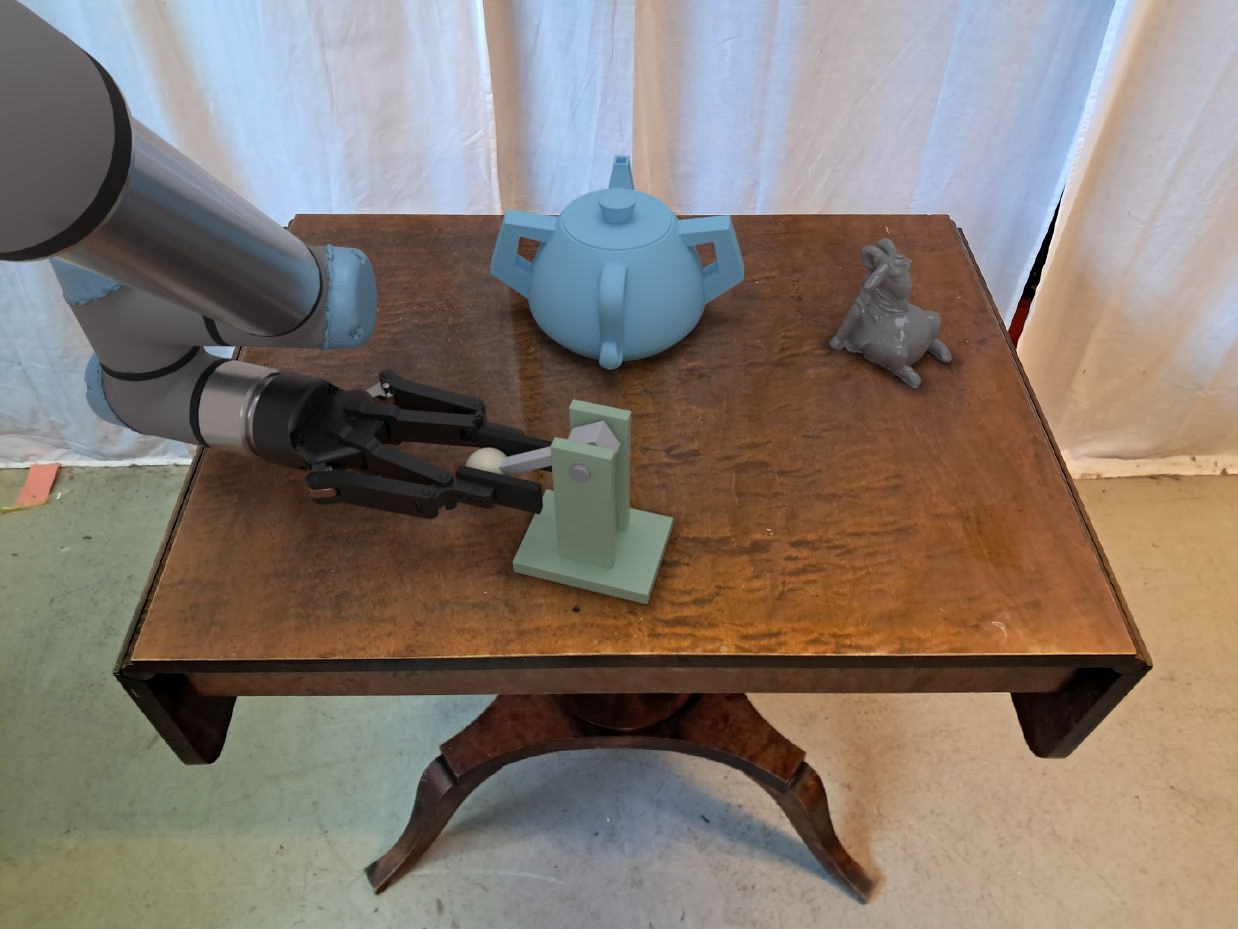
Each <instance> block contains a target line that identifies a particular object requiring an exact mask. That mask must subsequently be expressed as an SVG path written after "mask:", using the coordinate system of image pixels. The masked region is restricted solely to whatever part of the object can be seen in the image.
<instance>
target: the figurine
mask: <svg viewBox="0 0 1238 929" xmlns="http://www.w3.org/2000/svg"><path fill="white" fill-rule="evenodd" d="M860 261H861V265H863V266H864V267H865V268H866V269H867V270H868V271H867V273H866V275H865V276H864V278H863V279H862V282H861V288H860V290H859V293H858V295H857V296H856V298H855V299H854V301H853V302H852V304H851V307H850V308H849V310H848V312H847V314H846V317H845V318H844V320H843V322H842V324H841V325H840V326H839V328H838V330H837V331H836V333H835V335H834V336H833V337H832V338H831V339H830V341H829V343H828V346H829V347H830V348H831V349H832V350H833V349H834V350H837V351H838V350H843V349H844V348H845V349H846V350H847V351H848V352H852V353H853V354H856V353H858V354H863V358H865V359H866V360H868V361H869V362H871V363H873V364H875V365H878V366H880V367H882V368H885V369H886V370H888V371H890V372H891V374H893V375H895V376H897V377H899V379H901V380H902V382H904V383H906V384H907V385H908V386H910V387H912V388H913V389H918V388H919V387H920V385H921V384H922V379H921V376H920V375H919V374H918V373H917V372H916V371H915V370H914V368H913V367H912V366H913V365H914V364H915V363H916V362H918V361H919V360H920V359H921V358H922V357H923V356H924V355H925V353H926V352H929V353H930V354H932V355H933V356H934V357H936V358H937V359H938V360H940V361H942V362H943V363H947V364H948V363H950V362H951V361H952V360H953V356H952V353H951V351H950V349H949V348H948V347H947V346H946V344H945V343H944V342H943V341H941V340H940V339H939V336H940V335H941V331H942V325H943V324H942V318H941V315H940V314H939V313H938V312H936V311H933V310H928V309H927V310H925V309H924V310H923V309H922V308H920V306H917V305H915V304H913V303H910V301H909V300H908V299H909V298H910V297H911V296H912V294H913V287H914V285H913V280H912V278H911V268H912V266H911V265H912V262H913V260H912V259H910V258H909V257H906V254H899V253H898V250H897V248H896V245H895V242H893V241H892V240H891V239H889V238H887V237H886V238H881V239H880V240H878V242H877V244H876V246H875V245H871V244H869V245H865V246H864V247H862V249H861V251H860Z"/></svg>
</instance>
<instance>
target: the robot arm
mask: <svg viewBox="0 0 1238 929" xmlns="http://www.w3.org/2000/svg"><path fill="white" fill-rule="evenodd" d="M44 260H48V262H49V263H50V266H51V268H52V270H53V272H54V274H55V277H56V280H57V281H58V283H59V286H60V288H61V291H62V298H63V299H64V302H66V304H67V305H68V306H69V307H70V309H71V311H72V313H73V315H74V317H75V319H76V320H77V322H78V324H79V326H80V328H81V330H82V332H83V333H84V335H85V337H86V339H87V340H88V342H89V344H90V347H91V348H92V350H93V353H92V355H91V356H90V357H89V360H88V362H87V365H86V368H85V372H84V378H83V380H84V383H85V384H86V389H87V391H86V392H85V399H86V401H87V404H88V406H89V407H90V409H91V410H92V412H93V413H94V414H95V415H96V416H97V417H98V418H100V419H101V420H102V421H104V422H107V423H109V424H112V425H115V426H118V427H121V428H125V429H129V430H131V432H133V433H138V434H139V435H143V436H151V437H152V436H154V437H157V438H163V439H167V440H171V441H174V442H175V441H176V442H180V443H185V444H189V445H194V446H197V447H202V448H207V449H213V450H217V451H220V452H223V453H226V454H227V453H228V454H231V455H232V454H233V455H236V456H239V457H240V456H241V457H245V458H249V459H252V460H257V461H258V460H259V461H260V460H263V461H265V462H267V463H268V464H272V465H276V466H280V467H284V468H285V467H286V468H289V469H294V470H298V471H303V472H305V471H309V472H308V473H307V474H306V475H305V477H304V481H305V484H306V486H307V489H308V492H309V495H310V497H311V500H312V503H313V504H314V505H320V506H321V505H332V504H334V505H335V504H347V505H352V506H358V507H363V508H368V509H372V510H379V511H383V512H389V513H394V514H398V515H399V514H400V515H405V516H408V517H409V516H411V517H414V518H421V519H426V520H433V519H435V518H437V517H438V515H439V511H440V509H441V508H443V507H444V510H447V511H452V510H454V509H456V508H457V506H458V503H460V504H464V505H468V506H473V507H478V508H481V509H485V510H486V509H493V508H494V506H495V505H497V506H502V507H506V508H511V509H515V510H519V511H522V512H528V513H532V514H534V515H535V514H540V513H541V511H542V509H543V498H542V497H543V488H542V483H541V482H537V481H532V480H528V479H524V478H519V477H515V476H512V475H511V476H506V475H502V474H498V473H493V472H489V471H484V470H480V469H476V468H471V467H467V466H466V465H463V464H458V467H456V470H455V471H454V472H455V476H453V474H452V472H451V471H449V470H447V469H444V468H442V467H440V466H437V465H435V464H432V463H430V462H427V461H425V460H422V459H420V458H417V457H415V456H413V455H410V454H407V453H405V452H402V451H400V450H397V449H395V448H393V447H390V446H400V445H401V444H402V443H403V442H404V443H417V444H428V445H429V444H432V445H440V446H441V445H443V446H453V447H454V446H455V447H467V448H479V449H482V448H495V449H498V450H500V451H501V452H503V453H504V454H505V455H506V456H507V457H509V456H513V455H518V454H522V453H526V452H530V451H534V450H538V449H542V448H546V447H550V446H551V444H552V442H553V440H548V439H544V438H538V437H533V436H529V435H525V431H523V430H522V429H520V428H518V427H517V428H516V427H512V426H507V425H502V424H498V423H494V422H490V421H488V416H487V410H486V409H487V408H486V403H485V401H484V400H483V399H481V398H477V397H473V396H470V395H466V394H461V393H458V392H454V391H449V390H447V389H442V388H438V387H435V386H431V385H426V384H422V383H419V382H414V381H412V380H408V379H404V378H403V377H401V376H400V375H398V374H397V373H395V372H394V371H393V370H390V369H384V370H383V369H382V370H381V371H379V373H378V374H377V376H378V380H379V381H378V382H377V383H376V384H374V385H372V386H371V387H369V388H368V389H366V390H365V389H362V388H353V389H342V388H340V387H338V386H336V385H334V384H333V383H332V382H330V381H329V380H327V379H325V378H321V377H317V376H312V375H307V374H303V373H299V372H293V371H284V370H283V369H281V368H274V367H270V366H266V365H262V364H261V365H260V364H255V363H250V362H246V361H241V360H238V359H233V358H228V357H222V356H218V355H214V354H211V353H209V352H208V351H207V350H206V349H205V347H221V348H222V347H227V348H228V347H230V348H234V347H249V348H250V347H251V348H254V347H255V348H283V349H285V348H287V349H312V350H315V349H316V350H321V351H322V352H323V351H325V352H327V351H329V350H332V349H333V350H334V349H357V348H361V347H363V346H364V345H366V344H367V343H368V342H369V341H370V339H371V337H372V336H373V334H374V331H375V327H376V322H377V315H378V289H377V288H378V287H377V280H376V275H375V271H374V268H373V265H372V263H371V260H370V259H369V257H368V255H366V253H365V252H364V251H363V250H361V249H359V248H355V247H346V246H335V245H333V244H332V243H330V244H325V245H308V244H306V243H305V242H303V241H302V240H301V239H299V238H298V237H297V236H295V235H294V234H292V233H291V232H290V231H288V230H287V229H286V228H285V227H284V226H282V225H281V224H279V223H278V222H276V221H275V220H273V218H271V217H270V216H268V215H267V214H266V213H264V211H261V210H260V209H259V208H258V207H256V206H255V205H254V204H253V203H251V202H249V201H248V200H246V199H245V198H244V197H242V196H241V195H240V194H239V193H237V192H236V191H234V189H232V188H231V187H229V186H228V185H226V184H225V183H223V182H222V181H221V180H220V179H219V178H217V177H216V176H214V175H213V174H211V173H210V172H209V171H207V170H206V169H205V168H203V167H202V166H201V165H199V164H198V163H196V162H195V161H194V160H193V159H191V158H190V157H189V156H187V155H186V154H184V153H183V152H182V151H180V150H179V149H177V147H176V146H174V145H173V144H171V143H170V142H168V140H166V139H164V138H163V137H161V135H159V134H158V133H156V132H155V131H153V130H152V129H150V127H148V126H146V125H145V124H144V123H142V121H140V120H138V119H137V118H136V117H134V116H133V115H132V112H131V109H130V107H129V104H128V101H127V98H126V96H125V95H124V92H123V91H122V89H121V87H120V86H119V84H118V83H117V81H116V80H115V79H114V77H113V76H112V75H111V73H110V72H109V71H108V70H107V69H106V68H105V66H103V65H102V64H101V63H100V62H99V61H98V60H97V59H96V58H95V57H93V56H92V55H91V54H90V53H88V52H87V51H86V50H85V49H83V48H82V46H80V45H79V44H77V43H76V42H75V41H74V40H72V39H71V38H69V36H67V35H66V34H65V33H62V32H61V31H60V30H58V29H57V28H56V27H54V26H53V25H51V24H50V23H49V22H47V21H46V20H45V19H43V18H42V17H41V16H39V15H38V14H36V13H35V12H34V10H32V9H30V8H29V7H27V6H26V5H25V4H23V3H22V2H20V1H18V0H0V262H7V263H32V262H41V261H44ZM388 445H389V446H388ZM351 470H355V471H351ZM538 470H540V471H544V472H549V473H552V466H547V467H543V468H539V469H538Z"/></svg>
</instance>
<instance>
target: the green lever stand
mask: <svg viewBox="0 0 1238 929" xmlns="http://www.w3.org/2000/svg"><path fill="white" fill-rule="evenodd" d="M568 416H569V434H570V433H571V431H572V429H573V428H576V427H579V426H583V425H587V424H591V423H595V422H599V421H603V420H604V421H605V423H606V424H607V426H608V427H609V428H610V430H611V431H612V433H613V434H614V435H615V437H616V438H617V440H618V441H619V442H620V446H619V448H618V451H617V453H616V456H615V450H614V449H609V448H604V447H600V446H595V445H590V444H586V443H581V442H576V441H572V440H568V438H563V437H557V436H555V437H554V438H553V440H552V441H553V442H552V444H551V460H552V472H551V473H552V474H551V475H552V486H553V489H548V488H546V489H545V491H544V493H543V494H542V498H543V509H542V511H541V513H540V514H535V513H534V515H533V516H532V519H531V521H530V523H529V525H528V527H527V530H526V532H525V535H524V536H523V539H522V541H521V542H520V545H519V547H518V549H517V551H516V553H515V556H514V558H513V560H512V568H513V573H516V574H521V575H525V576H528V577H529V576H530V577H533V578H536V579H537V578H538V579H541V580H546V581H550V582H554V583H556V584H557V583H558V584H562V585H566V586H569V587H574V588H577V589H582V590H587V591H591V592H595V593H597V594H603V595H607V596H610V597H614V598H619V599H624V600H627V601H630V602H636V603H639V604H644V605H648V604H649V601H650V598H651V595H652V592H653V589H654V586H655V583H656V579H657V576H658V574H659V571H660V568H661V564H662V562H663V559H664V556H665V552H666V550H667V546H668V544H669V540H670V537H671V534H672V532H673V529H674V517H672V516H668V515H662V514H660V513H659V514H658V513H654V512H650V511H645V510H641V509H636V508H632V507H631V459H632V456H631V454H632V411H631V410H627V409H623V408H617V407H613V406H608V405H603V404H598V403H593V402H588V401H584V400H579V399H574V398H573V399H572V401H571V403H570V405H569V407H568Z"/></svg>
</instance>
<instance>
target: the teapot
mask: <svg viewBox="0 0 1238 929" xmlns="http://www.w3.org/2000/svg"><path fill="white" fill-rule="evenodd" d="M630 157H631V156H630V155H622V154H621V155H619V154H614V156H613V162H612V170H611V174H610V178H609V183H608V187H607V188H603V189H597V190H593V191H590V192H587V193H584V194H582V195H580V196H578V197H576V198H574V199H573V200H571V202H569V203H568V204H567V205H565V207H564V208H563V209H562V210H561V212H560V213H559V214H558V216H554V215H548V214H541V213H536V212H529V211H521V210H516V209H510V208H509V209H508V208H506V209H505V211H504V215H503V218H502V222H501V225H500V229H499V231H498V235H497V239H496V242H495V246H494V249H493V254H492V256H491V261H490V268H489V269H490V270H489V273H490V274H491V275H492V276H493V277H495V278H496V279H498V280H499V281H500V282H502V283H504V284H505V285H507V286H508V287H510V288H511V289H512V290H514V291H515V292H517V293H518V294H519V295H521V296H523V297H524V298H526V299H527V300H528V307H529V311H530V312H531V316H532V317H533V319H534V320H535V323H536V324H537V326H538V327H539V328H540V329H541V330H542V332H544V333H545V334H546V335H547V336H548V337H549V338H550V339H552V340H553V341H554V342H556V343H557V344H559V345H560V346H561V347H563V348H565V349H567V350H568V351H570V352H572V353H573V354H574V353H575V354H576V355H579V356H582V357H585V358H588V359H592V360H596V361H597V360H598V364H599V366H600V367H601V368H603V369H606V370H607V371H609V370H610V371H611V370H615V369H618V368H619V367H620V366H621V365H622V363H623V362H631V361H638V360H643V359H646V358H649V357H653V356H655V355H657V354H658V355H659V353H663V352H664V351H666V350H667V349H670V348H671V347H673V346H674V345H676V344H677V343H678V342H680V341H681V340H683V339H684V338H685V337H686V336H688V334H690V333H691V332H692V331H693V329H694V328H695V327H696V326H697V325H698V323H699V321H700V319H701V318H702V315H703V314H704V310H705V307H706V305H707V304H708V303H710V302H711V301H713V300H715V299H716V298H718V297H719V296H721V295H722V294H724V293H726V292H727V291H729V290H730V289H732V288H734V287H735V286H737V285H738V284H740V283H742V282H743V281H745V263H744V261H743V259H744V258H743V257H742V256H743V255H742V252H741V249H740V245H739V241H738V238H737V235H736V231H735V227H734V224H733V221H732V217H731V215H730V214H725V215H715V216H714V215H713V216H705V217H695V218H684V219H679V217H677V215H676V214H675V213H674V212H673V210H672V209H671V208H670V207H669V206H668V204H666V203H665V202H664V201H663V200H661V199H660V198H658V197H656V196H654V195H653V194H650V193H647V192H644V191H641V190H636V189H635V184H634V178H633V172H632V167H631V166H632V165H631V158H630ZM520 238H525V239H528V240H532V241H538V242H540V244H539V245H538V248H537V250H536V253H535V255H534V258H533V261H532V262H530V261H529V260H527V259H526V258H525V257H523V256H522V255H520V254H518V250H519V245H520V244H519V243H520ZM709 243H713V244H714V245H713V246H714V252H715V256H716V260H714V261H713V262H711V263H710V264H708V265H707V266H705V267H703V264H702V261H701V258H700V256H699V252H698V249H697V247H696V246H698V245H703V244H709Z"/></svg>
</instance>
